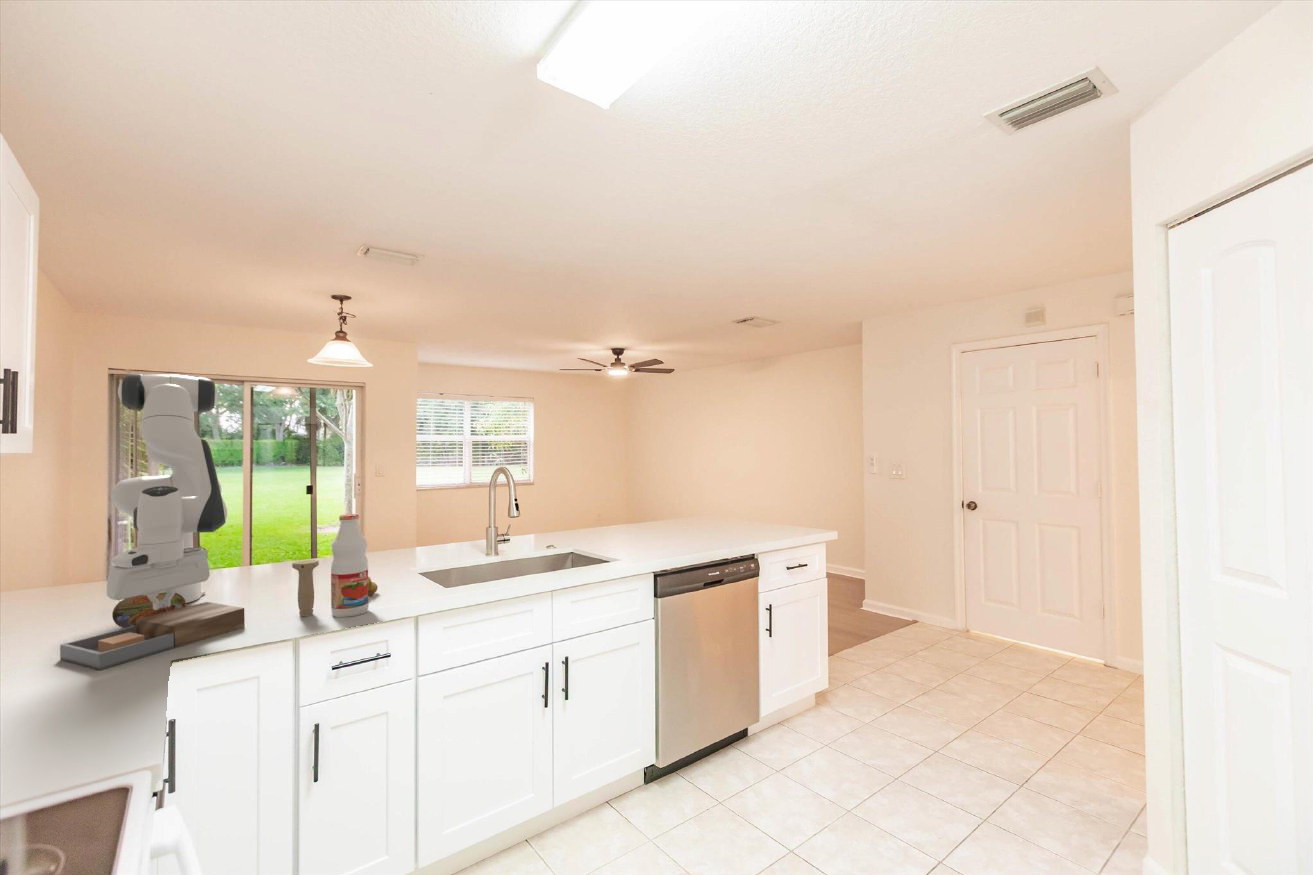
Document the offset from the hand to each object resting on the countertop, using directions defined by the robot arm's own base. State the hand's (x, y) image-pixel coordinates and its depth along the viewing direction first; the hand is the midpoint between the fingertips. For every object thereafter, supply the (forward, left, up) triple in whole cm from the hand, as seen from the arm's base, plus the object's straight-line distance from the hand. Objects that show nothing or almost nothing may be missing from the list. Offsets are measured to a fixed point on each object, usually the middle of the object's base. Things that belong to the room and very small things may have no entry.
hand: (161, 608), depth 143 cm
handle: (+14, +27, -8) cm, 32 cm away
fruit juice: (+24, +33, -8) cm, 42 cm away
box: (0, -9, -8) cm, 12 cm away
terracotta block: (+1, -8, -5) cm, 9 cm away
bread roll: (+12, +46, -9) cm, 48 cm away
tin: (-18, +6, -9) cm, 21 cm away
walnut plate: (0, +6, -8) cm, 10 cm away
